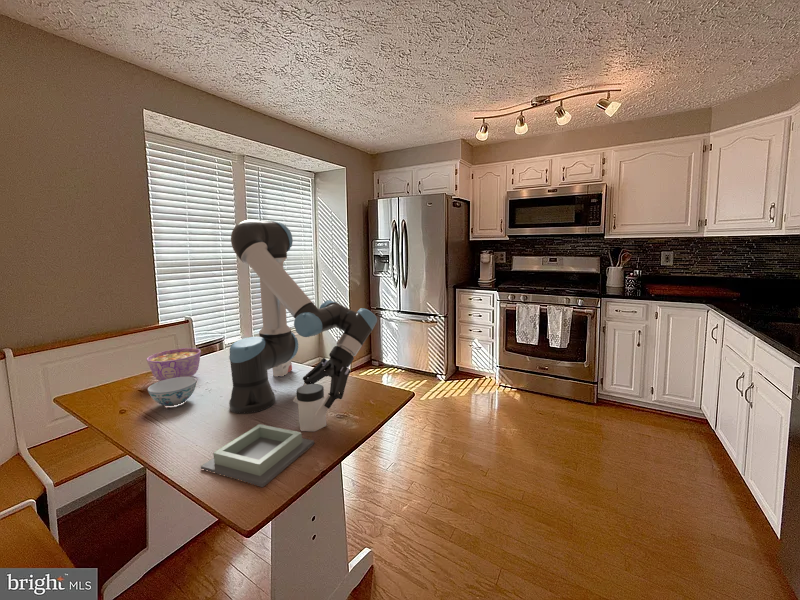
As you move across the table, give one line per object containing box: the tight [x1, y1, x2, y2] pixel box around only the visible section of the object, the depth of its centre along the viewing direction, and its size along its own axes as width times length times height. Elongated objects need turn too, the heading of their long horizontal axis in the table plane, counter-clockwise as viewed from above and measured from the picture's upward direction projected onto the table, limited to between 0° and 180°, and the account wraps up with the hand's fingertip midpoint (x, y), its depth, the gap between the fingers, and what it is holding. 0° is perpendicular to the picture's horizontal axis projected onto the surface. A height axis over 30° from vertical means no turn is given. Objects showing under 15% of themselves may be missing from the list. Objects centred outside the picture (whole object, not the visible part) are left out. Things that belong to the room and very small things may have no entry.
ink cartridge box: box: [272, 359, 293, 377], centre depth 162 cm, size 9×5×15 cm, turn 168°
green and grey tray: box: [200, 423, 315, 488], centre depth 98 cm, size 20×20×4 cm
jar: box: [295, 383, 327, 433], centre depth 114 cm, size 9×8×12 cm
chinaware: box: [147, 376, 197, 406], centre depth 134 cm, size 15×15×8 cm
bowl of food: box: [146, 347, 202, 382], centre depth 158 cm, size 20×20×12 cm
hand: (306, 409), depth 112 cm, fingers open, 13 cm apart
